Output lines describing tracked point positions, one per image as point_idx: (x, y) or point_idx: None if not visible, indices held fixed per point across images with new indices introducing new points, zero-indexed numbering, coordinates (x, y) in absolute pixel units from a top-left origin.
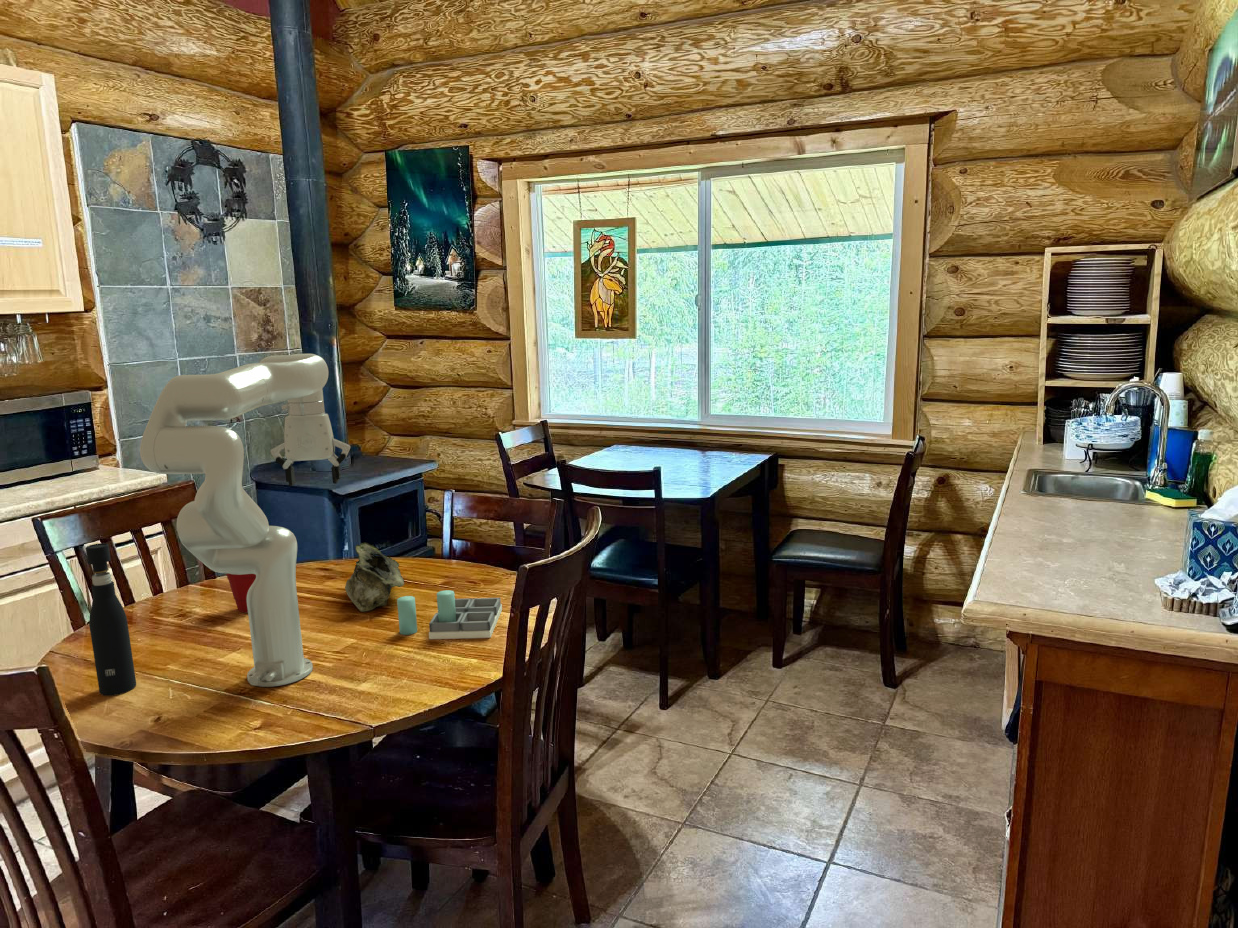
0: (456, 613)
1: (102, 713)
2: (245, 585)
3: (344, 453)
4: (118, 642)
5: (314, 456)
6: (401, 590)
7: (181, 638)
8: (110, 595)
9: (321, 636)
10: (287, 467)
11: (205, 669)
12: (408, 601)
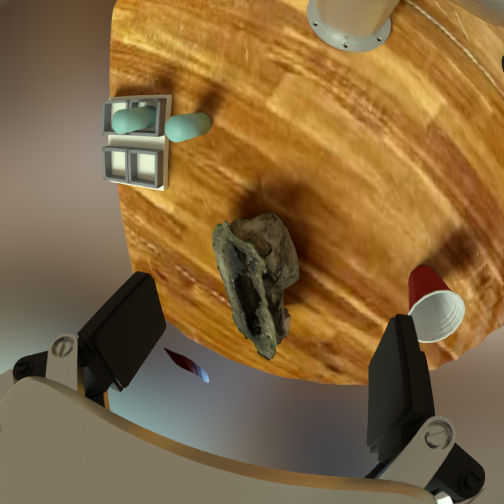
0: (135, 132)
1: None
2: (436, 283)
3: (16, 382)
4: None
5: (102, 447)
6: None
7: (490, 201)
8: None
9: (322, 133)
10: (425, 426)
11: (451, 74)
12: (171, 117)
